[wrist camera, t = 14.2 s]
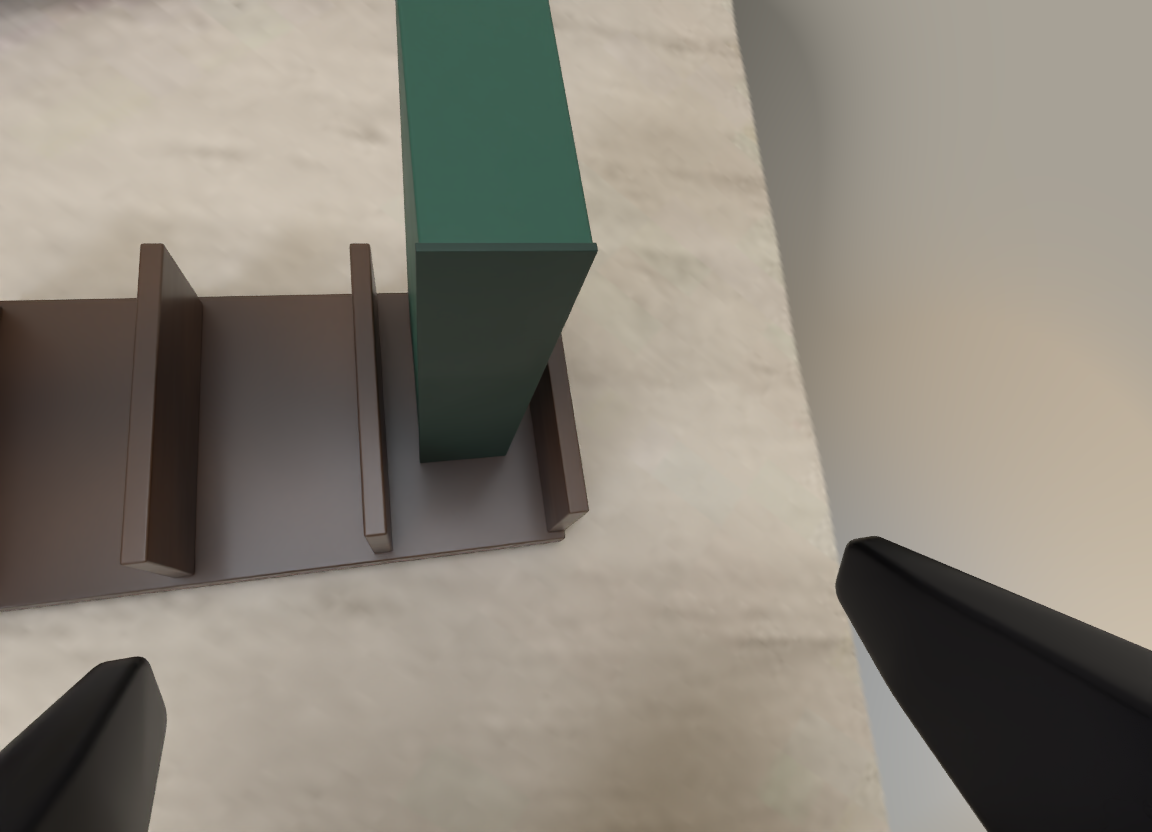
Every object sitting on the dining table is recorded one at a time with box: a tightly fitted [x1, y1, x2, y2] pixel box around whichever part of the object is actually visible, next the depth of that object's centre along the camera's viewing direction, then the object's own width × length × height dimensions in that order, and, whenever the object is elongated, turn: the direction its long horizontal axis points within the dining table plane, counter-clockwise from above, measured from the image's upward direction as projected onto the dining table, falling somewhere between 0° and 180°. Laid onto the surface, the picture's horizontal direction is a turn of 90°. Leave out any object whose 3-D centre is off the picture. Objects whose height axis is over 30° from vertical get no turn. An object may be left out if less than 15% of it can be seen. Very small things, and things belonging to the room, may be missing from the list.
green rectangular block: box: [395, 0, 598, 463], centre depth 17 cm, size 6×3×12 cm, turn 9°
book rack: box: [0, 244, 589, 612], centre depth 19 cm, size 10×17×4 cm, turn 99°
